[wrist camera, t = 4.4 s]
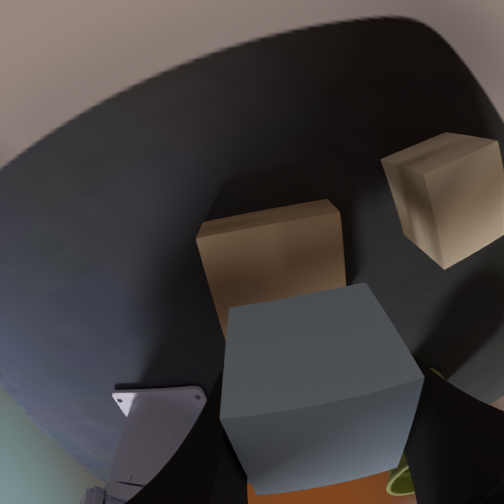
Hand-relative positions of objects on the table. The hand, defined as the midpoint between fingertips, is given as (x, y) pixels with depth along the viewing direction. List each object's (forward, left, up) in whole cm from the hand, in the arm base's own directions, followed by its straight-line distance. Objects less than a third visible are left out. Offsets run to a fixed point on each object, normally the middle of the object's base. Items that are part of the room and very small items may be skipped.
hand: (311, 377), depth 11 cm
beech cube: (+4, -9, -9) cm, 14 cm away
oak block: (0, +1, -9) cm, 9 cm away
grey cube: (0, 0, -2) cm, 2 cm away
